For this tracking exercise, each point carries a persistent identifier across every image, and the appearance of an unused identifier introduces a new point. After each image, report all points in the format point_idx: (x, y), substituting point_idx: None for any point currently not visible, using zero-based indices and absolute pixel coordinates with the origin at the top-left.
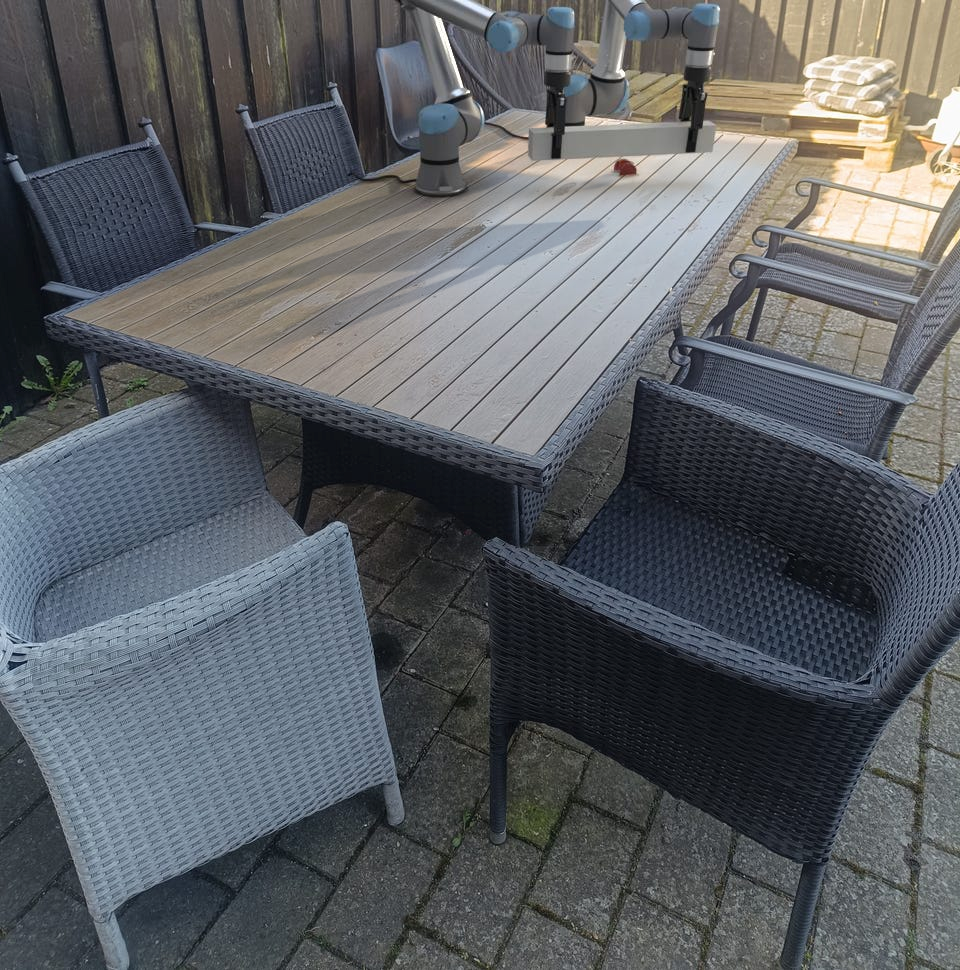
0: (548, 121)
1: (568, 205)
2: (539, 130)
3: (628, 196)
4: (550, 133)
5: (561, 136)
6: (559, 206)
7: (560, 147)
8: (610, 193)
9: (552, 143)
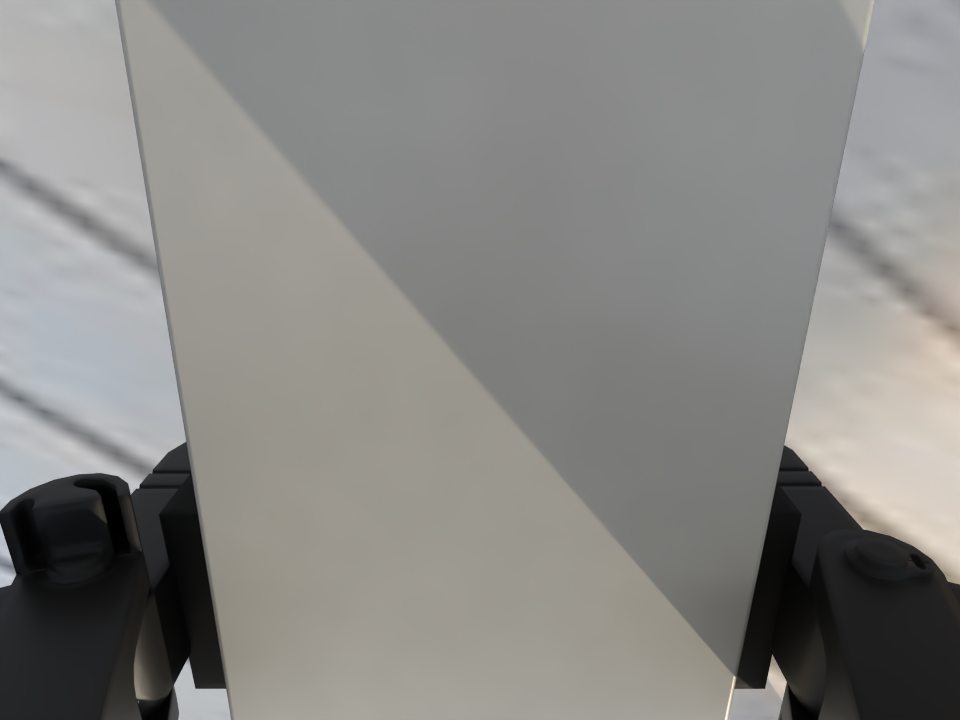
0: (850, 697)
1: (96, 314)
2: (453, 247)
3: None
4: (202, 489)
5: (203, 659)
6: (67, 238)
7: None
8: None
9: None
